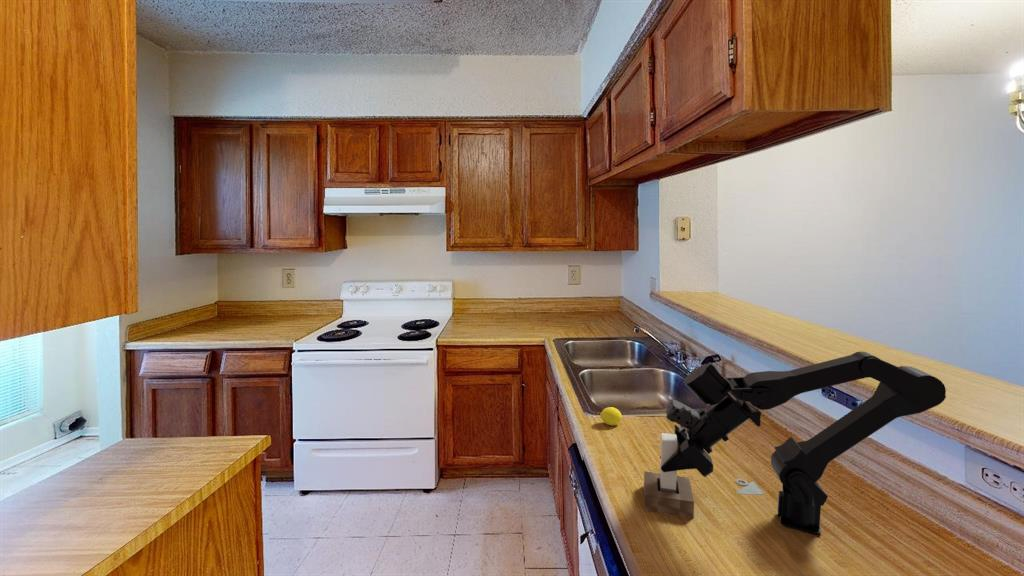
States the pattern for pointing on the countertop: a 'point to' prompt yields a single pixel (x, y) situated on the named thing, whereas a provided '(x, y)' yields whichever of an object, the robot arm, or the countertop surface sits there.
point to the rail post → (666, 452)
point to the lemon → (611, 416)
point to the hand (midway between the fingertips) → (661, 464)
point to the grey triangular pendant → (748, 488)
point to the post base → (668, 496)
